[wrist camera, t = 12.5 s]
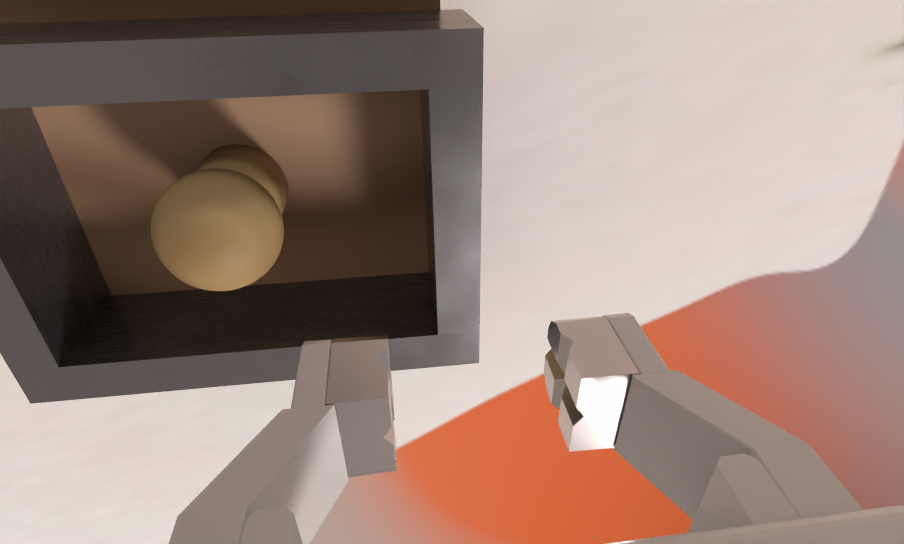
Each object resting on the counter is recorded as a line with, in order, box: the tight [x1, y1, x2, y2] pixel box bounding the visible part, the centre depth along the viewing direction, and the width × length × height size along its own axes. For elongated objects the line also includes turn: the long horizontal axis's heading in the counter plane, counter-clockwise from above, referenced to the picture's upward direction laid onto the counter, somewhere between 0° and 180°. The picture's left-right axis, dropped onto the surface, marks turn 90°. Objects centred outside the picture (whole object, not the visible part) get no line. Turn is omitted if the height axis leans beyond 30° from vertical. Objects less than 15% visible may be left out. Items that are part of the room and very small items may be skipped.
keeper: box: [0, 0, 440, 296], centre depth 17 cm, size 14×14×7 cm
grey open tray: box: [0, 9, 484, 403], centre depth 17 cm, size 11×15×4 cm
